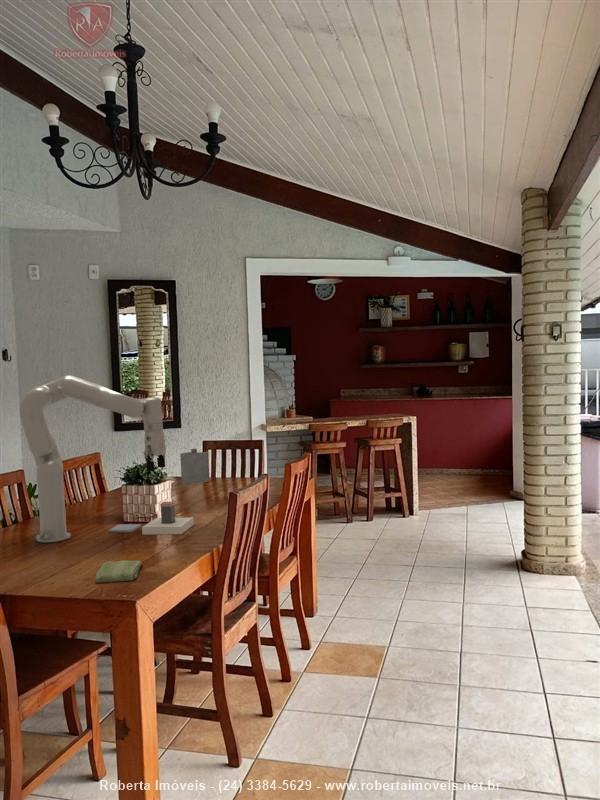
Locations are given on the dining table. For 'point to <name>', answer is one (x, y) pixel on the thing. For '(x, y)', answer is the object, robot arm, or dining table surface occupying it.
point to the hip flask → (194, 467)
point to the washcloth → (118, 571)
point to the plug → (167, 512)
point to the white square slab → (167, 526)
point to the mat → (125, 528)
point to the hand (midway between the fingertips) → (156, 469)
